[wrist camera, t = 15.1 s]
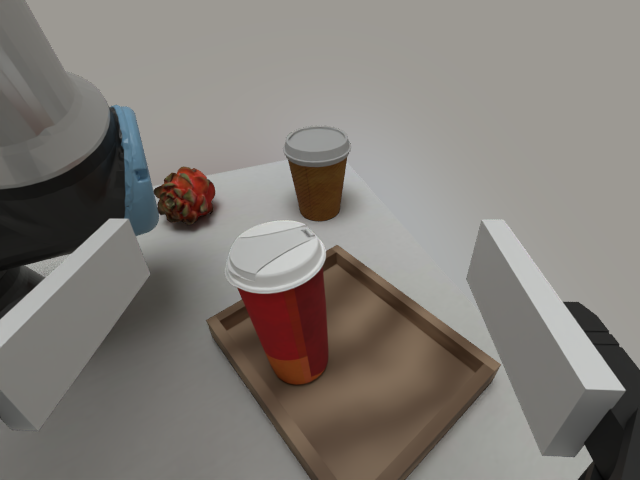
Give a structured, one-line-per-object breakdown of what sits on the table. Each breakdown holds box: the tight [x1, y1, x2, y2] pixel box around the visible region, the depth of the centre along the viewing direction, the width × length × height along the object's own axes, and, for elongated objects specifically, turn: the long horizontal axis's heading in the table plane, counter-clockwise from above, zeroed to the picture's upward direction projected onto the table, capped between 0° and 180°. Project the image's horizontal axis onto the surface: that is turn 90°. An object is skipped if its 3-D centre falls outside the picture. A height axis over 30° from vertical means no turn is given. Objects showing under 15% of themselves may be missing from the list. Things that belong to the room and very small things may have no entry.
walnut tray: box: [206, 245, 501, 480], centre depth 35 cm, size 22×18×3 cm
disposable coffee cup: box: [283, 126, 351, 221], centre depth 52 cm, size 10×10×12 cm
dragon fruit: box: [154, 167, 215, 225], centre depth 55 cm, size 8×8×12 cm
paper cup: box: [225, 220, 329, 385], centre depth 30 cm, size 8×8×14 cm
